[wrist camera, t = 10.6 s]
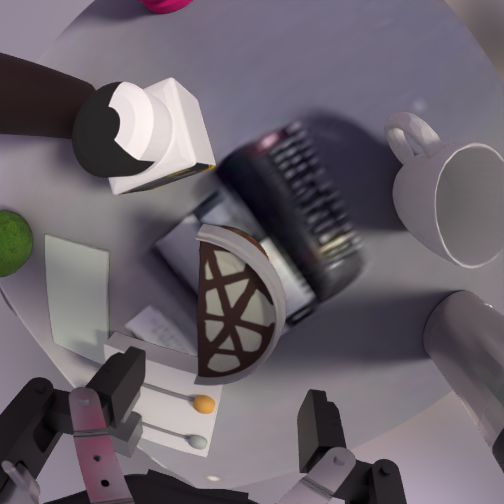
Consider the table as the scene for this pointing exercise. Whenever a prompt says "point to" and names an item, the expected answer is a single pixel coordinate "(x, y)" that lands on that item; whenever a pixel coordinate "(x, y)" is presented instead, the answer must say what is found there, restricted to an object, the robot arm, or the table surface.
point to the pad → (78, 296)
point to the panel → (171, 397)
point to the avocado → (13, 242)
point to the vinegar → (38, 99)
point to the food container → (235, 306)
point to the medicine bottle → (141, 135)
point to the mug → (448, 193)
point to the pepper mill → (165, 5)
